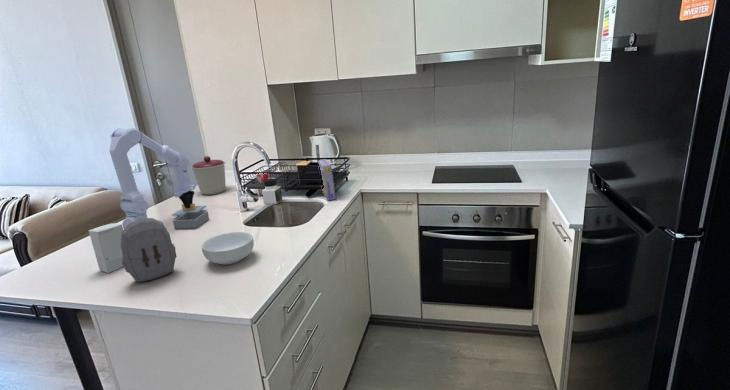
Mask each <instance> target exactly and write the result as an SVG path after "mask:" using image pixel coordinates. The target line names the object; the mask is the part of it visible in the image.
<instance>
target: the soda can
mask: <svg viewBox="0 0 730 390" xmlns="http://www.w3.org/2000/svg"><path fill="white" fill-rule="evenodd" d="M258 173H259V172H257V173H256V181H257V180H258V182H260V183H261V182H264V180H265V179H268V178H271V176H270V173H269V172H268V173H264V174H263V173H259V174H258ZM257 190H258V194H259V195H260V194H261V195H260V196H262V190H263V189H258V188H257Z"/></svg>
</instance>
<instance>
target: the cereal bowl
mask: <svg viewBox="0 0 730 390" xmlns="http://www.w3.org/2000/svg"><path fill="white" fill-rule="evenodd" d="M254 244H255V241H254V236H253V235H252V234H251V233H249V232H246V231H234V232H232V231H231V232H227V233H226V232H225V233H221V234H218V235H215V236H212V237H210V238H208V239H206V240H205V241H203V242H202V244H201V251H202V252H201V253H202V254H203V257H204V258H205V259H206V260H207V261H208V262H210V263H213V264H219V265H223V266H224V265H228V266H229V265H232V264H236V263H239V262H240V261H241V260H243V259H244V258H246V257H247V256H248V255H250V254H251V253H252V250H253V248H254Z"/></svg>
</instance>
